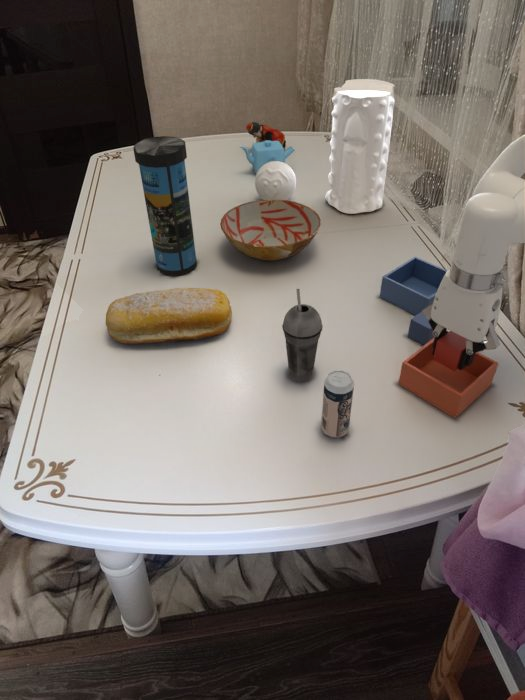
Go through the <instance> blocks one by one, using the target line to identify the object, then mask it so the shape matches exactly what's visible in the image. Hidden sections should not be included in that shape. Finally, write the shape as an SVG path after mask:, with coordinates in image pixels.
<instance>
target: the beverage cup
mask: <svg viewBox="0 0 525 700" xmlns="http://www.w3.org/2000/svg"><path fill="white" fill-rule="evenodd" d="M296 299H297V304H296V305H294V306H292V307H291V308H290V309H289V310H288V311H287V312H286V313H285V315H284V318H283V321H282V331H283V335H284V338H285V347H286V356H287V366H288V373H289V376H290V378H292V379H293V380H296V381H301V382H303V381H307V380H309V379H311V378H312V376H313V374H314V369H315V364H316V363H315V362H316V357H317V350H318V344H319V339H320V337H321V335H322V332H323V327H324V326H323V321H322V317H321V315H320V312H319V311H318V310H317V309H316V308H315V307H314V306H311V305H309V304H304V303H302V300H301V290H300V288H296Z"/></svg>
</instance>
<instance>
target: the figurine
mask: <svg viewBox="0 0 525 700" xmlns="http://www.w3.org/2000/svg"><path fill="white" fill-rule="evenodd" d="M245 129H246V131H247V133H248V134H249V135H251V136H253V138H255V143H258V142H264V141H266V140H270V141H279V142H280V144H281V145H282V146H283V148H284V149H285V148H286V146H287V144H286V143H287V140H286V135H285V134H284V132H282V131H281V130H279V129H278V128H275V127H272V126H270V125H267V124H260V123H259V122H257V121H256V122H255V121H252V122H251V123H250V122H249V123H247V124H246V127H245Z"/></svg>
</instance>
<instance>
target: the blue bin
mask: <svg viewBox="0 0 525 700" xmlns="http://www.w3.org/2000/svg"><path fill="white" fill-rule="evenodd" d="M447 271H448V270H447V269H445V268H443V267H441V266H438V265H436V264H434V263H432V262H429V261H427V260H425V259H423V258H420V257H418V256H413V257H411V258H410V259H408V260H407V261H405V262H403V263H402V264H400V265H399V266H397V267H396V268H394V269H392V270H391V271H388V273H386V274H384V275H383V276H381V285H380V292H379V298H381V299H383V300H385V301H386V302H389V303H391V304H393V305H394V306H396V307H398V308H400V309H402V310H404V311H406V312H408V313H410V314H412V315H414V316H416V315H418V314H419V313H420V312H422V311H423V309H425V308H426V307H428V306H429V305H431V304H432V303H433V302H434V299H435V296H436V293H437V290H438V288H439V286H440V283H441V281H442V279H443V277H444V275H445V273H446V272H447Z"/></svg>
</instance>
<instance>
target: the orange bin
mask: <svg viewBox="0 0 525 700" xmlns="http://www.w3.org/2000/svg"><path fill="white" fill-rule="evenodd" d="M434 338H435V337H434ZM434 338H433V339H432V340H431V341H429V342H428V343H427V344H425V345H423V346H421V347H419V349H417V350H416V351H415V352H414V353H412V354H411V355H410V356H409V357H407V358H406V359H405V360H403V361H402V362H401V368H400V373H399V378H398V383H397V384H398V385H400V386H401V387H403V388H405V389H406V390H408V391H409V392H410V393H412V394H414V395H415V396H418V397H419V398H421V399H422V400H424V401H426V402H427V403H429V404H430V405H432V406H433V407H435V408H437V409H439V410H440V411H442V412H444V413H445V414H447V415H448V416H450V417H452V418H453V419H456V418H458V416H459V415H461V413H463V412H464V411H465V410H466V409H467V408H468V407H470V405H471V404H472V403H473V402H475V400H477V398H479V397H480V396H481V395H482V394H483V393H484V392H485V391H486V390H487V389H488V388H489V387H490V386H492V383H493V381H494V378H495V375H496V372H497V369H498V366H499V363H500V362H498V361H496V360H494V359H492V358H490V357H488V356H486V355H484V354H483V353H480V352H476V353H475V356H474V359H473V362H472V364H471V365H470V366H466V367H465V368H463V369H462V370H459V369H457V370H456V371H455V372H454V371H453V370H451V369H449V368H447V367H445V366H444V365H442V364H440V363H438V362H436V361H435V360H433V357H434V355H432V353H433V349H434V348H433V347H432V346H433V342H434Z"/></svg>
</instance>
